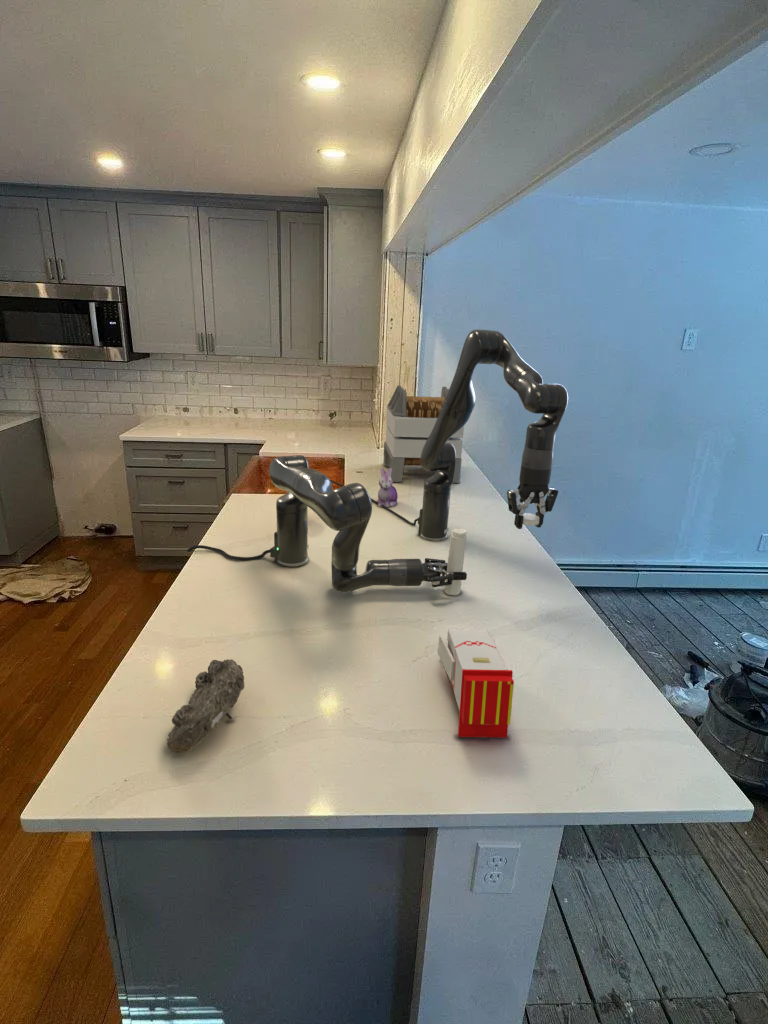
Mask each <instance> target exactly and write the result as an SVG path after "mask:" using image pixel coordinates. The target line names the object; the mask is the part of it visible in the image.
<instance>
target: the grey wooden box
mask: <svg viewBox="0 0 768 1024" xmlns="http://www.w3.org/2000/svg"><path fill="white" fill-rule="evenodd" d="M448 391H449V388H447V386H442V387H441V392H440V393H441V394H440V396H415V395H414V396H413V395H412V396H411V395H407V394H408V393H407V390H406V389H404V388H403V387H402V385H399V384H398V385H397V386H396V388H395V390H394V392H393V394H392V395H391V398H390V400H389V402H388V404H387V405H386V413H385V414H386V415H385V423H386V428H385V438H384V442H383V466H384V467H388V468H390V467H391V468H392V471H391V475H390V476H391V479H392V481H393V483H402V482H403V475H404V469H405V466H406V467H407V466H411V467H412V466H413V467H415V466H416V467H417V466H418V467H422V466H421V460H420V459H421V452H422V449H423V447H424V445H425V443H426V441H427V439H428V437H429V435H430V434H431V432H432V430H433V428H434V425H435V423H436V421H437V418H438V416H439V414H440V411H441V408H442V405H443V403H444V400H445V398H446V395H447V393H448ZM464 429H465V425H464V426H463V427H462V428H461V429H460V430H458V431H457V432H456V433H455V434H454V435H453V436H451V437H450V438H449V439H448V440H447V442H446V443H451V444H452V445H453V446H454V448H455V451H456V465H455V472H454V479H453V484H455V483H456V484H459V483H461V472H462V461H463V460H462V453H463V442H464V441H463V440H462V439H463V438H464V431H465V430H464Z"/></svg>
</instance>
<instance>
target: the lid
mask: <svg viewBox="0 0 768 1024" xmlns="http://www.w3.org/2000/svg"><path fill="white" fill-rule="evenodd" d="M523 516H524V517H523V525H525V526H530V527H536V526H535V525H538V524H539V516H537V515H536V513H529V512H524V514H523Z"/></svg>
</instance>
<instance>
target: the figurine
mask: <svg viewBox="0 0 768 1024" xmlns="http://www.w3.org/2000/svg"><path fill="white" fill-rule="evenodd" d="M391 471H392V468H391V467H388V469H387V470H386V471H385V469H384V468H383V467H381V468H380V478H379V480H378V485H379V489H378V492H377V502H378V503H379V504H377V505H378V507H381V505H384V506H386V507H387V508H389V507H394V506H396V505H397V503H398V496H399V495H398V490H397V489H396V487H395V486H394V485H393V484H394V482H393V481H392V479H391V476H390V475H391Z"/></svg>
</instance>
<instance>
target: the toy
mask: <svg viewBox="0 0 768 1024" xmlns="http://www.w3.org/2000/svg"><path fill="white" fill-rule="evenodd" d="M446 640H447V643H446V641H445V639H444V636H443V635H442V634H439V637H438V646H437V656H438V657H439V659H440V661H441V663H442V666H443V668H444V670H445V672H446V674H447V677H448V679H449V681H450V684H451V687H452V690H453V693H454V697H455V701H456V705H457V708H458V711H459V714H458V715H459V716H458V730H457V731H458V732H457V737H458V738H508V731H509V726H510V725H511V717H512V707H513V697H514V696H513V695H514V684H515V680H514V679H513V673H514V671H513V670H512V669H508V667H507V665H506V662H505V661H504V659H503V658H502V655H501V653H500V651H499V649H498V647H497V643H496V639H495V637H494V635H493V634H491V632H490V631H489V629H467V628H466V629H465V628H463V629H461V628H460V629H459V628H448V630H447V639H446Z"/></svg>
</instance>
